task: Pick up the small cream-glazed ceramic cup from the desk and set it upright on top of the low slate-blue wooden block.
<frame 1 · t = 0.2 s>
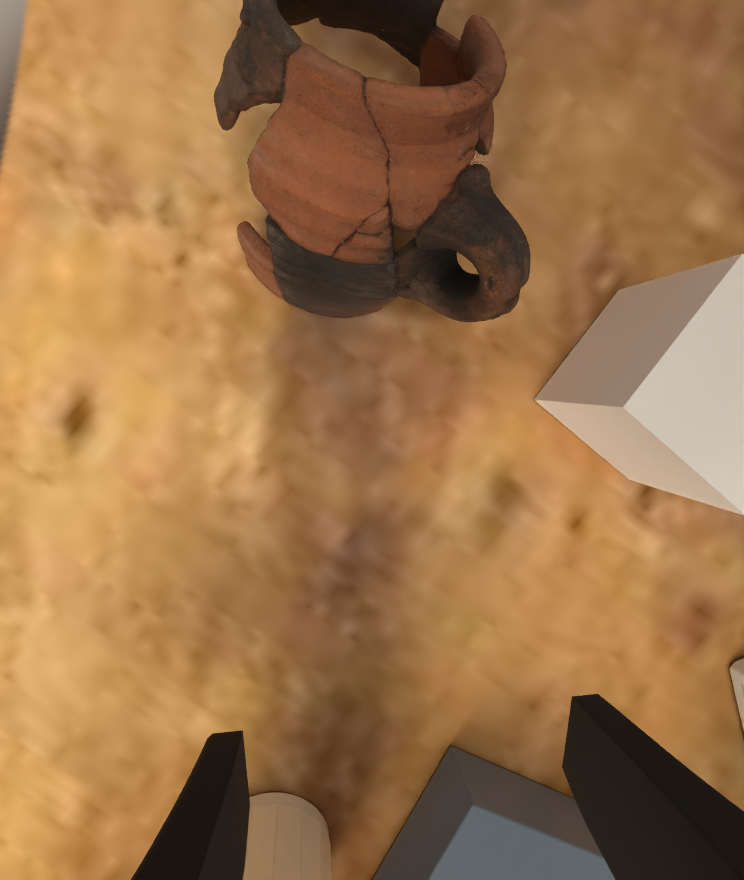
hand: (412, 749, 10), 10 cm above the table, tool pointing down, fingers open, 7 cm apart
brown hollow looped part: (367, 213, 19), on the table
riser block: (478, 843, 23), on the table
cup: (269, 846, 22), on the table
white cube: (620, 387, 21), on the table
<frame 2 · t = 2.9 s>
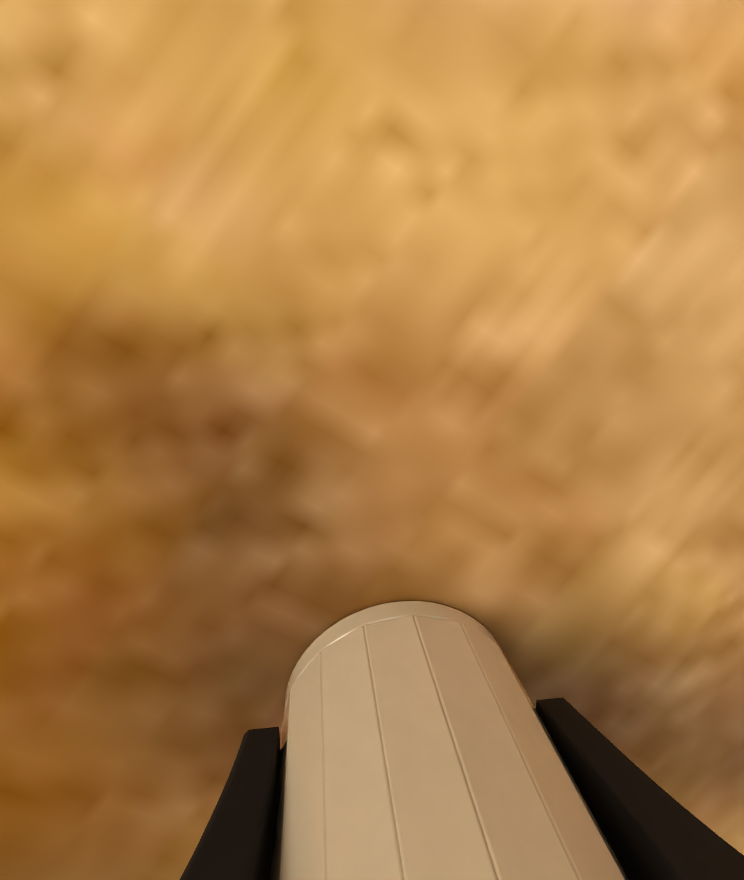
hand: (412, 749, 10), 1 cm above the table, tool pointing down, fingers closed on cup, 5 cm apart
cup: (399, 697, 12), on the table, touching gripper
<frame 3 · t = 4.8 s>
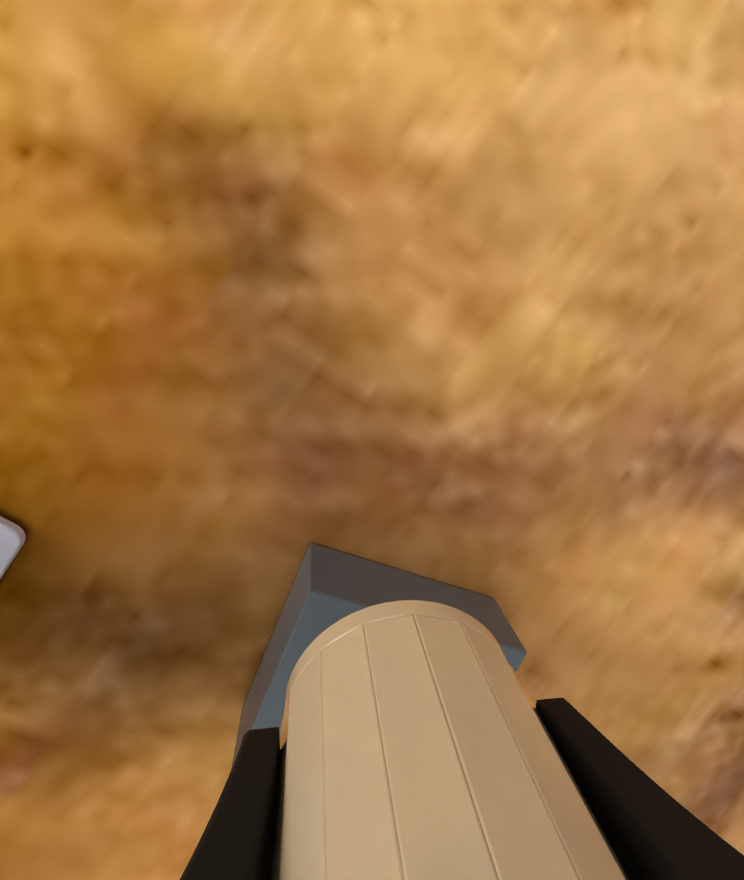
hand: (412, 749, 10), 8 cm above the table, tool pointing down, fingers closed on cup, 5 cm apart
riser block: (368, 653, 20), on the table
cup: (399, 696, 12), point 7 cm above the table, touching gripper
when the fingers open (5 cm above the table, at t = 6.9 s): cup stays where it is, resting on riser block.
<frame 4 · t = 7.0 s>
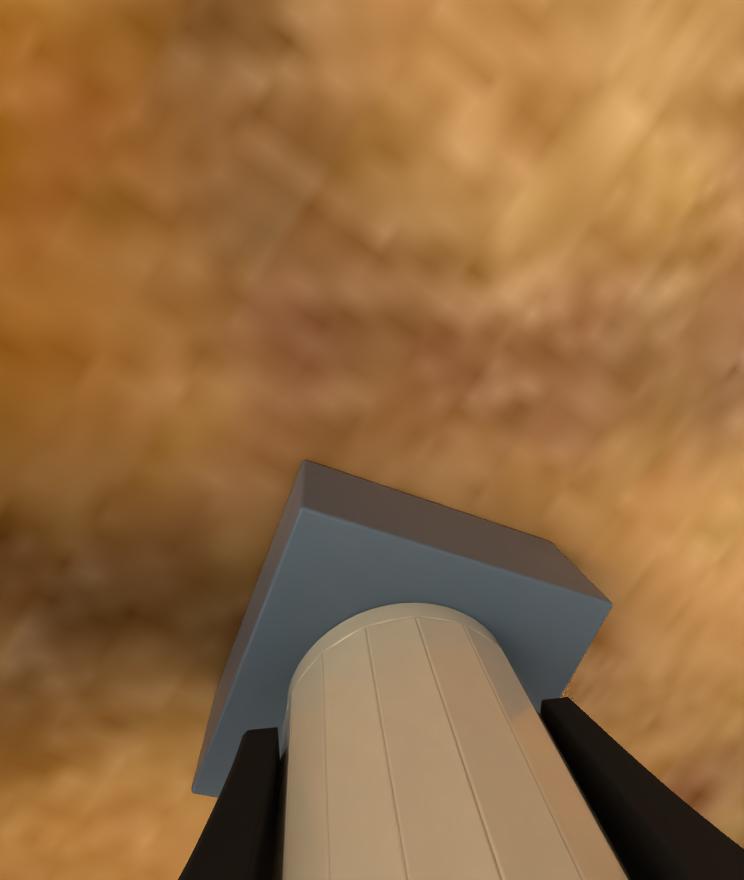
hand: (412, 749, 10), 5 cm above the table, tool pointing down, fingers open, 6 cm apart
riser block: (383, 616, 15), on the table, touching cup
cup: (401, 699, 12), point 3 cm above the table, touching riser block
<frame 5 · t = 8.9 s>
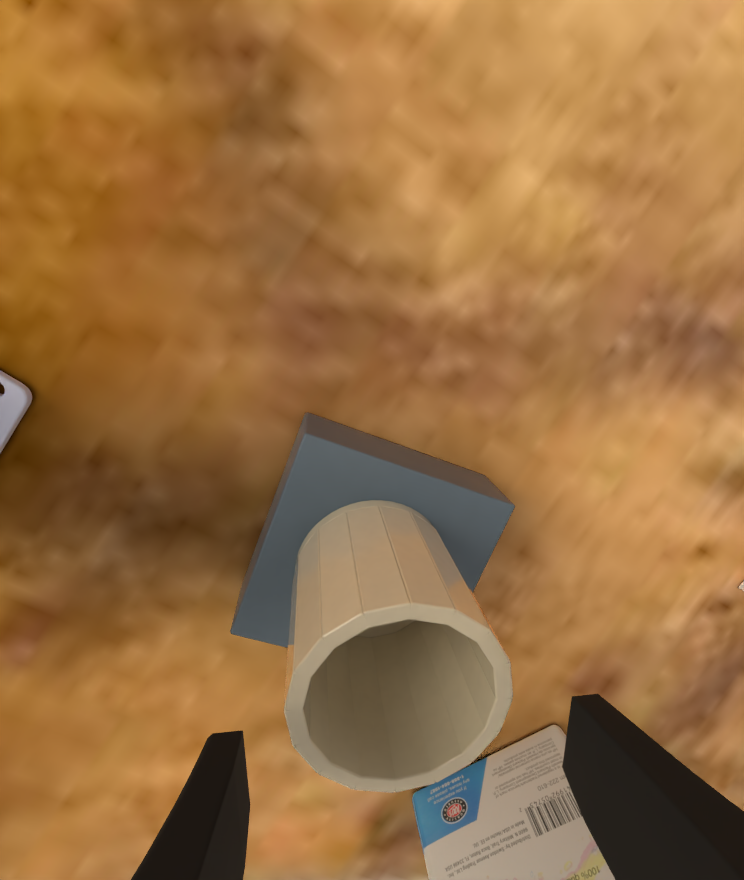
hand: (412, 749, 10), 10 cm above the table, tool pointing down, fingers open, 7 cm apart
ink box: (498, 782, 25), on the table
riser block: (363, 529, 20), on the table, touching cup
cup: (372, 570, 17), point 3 cm above the table, touching riser block
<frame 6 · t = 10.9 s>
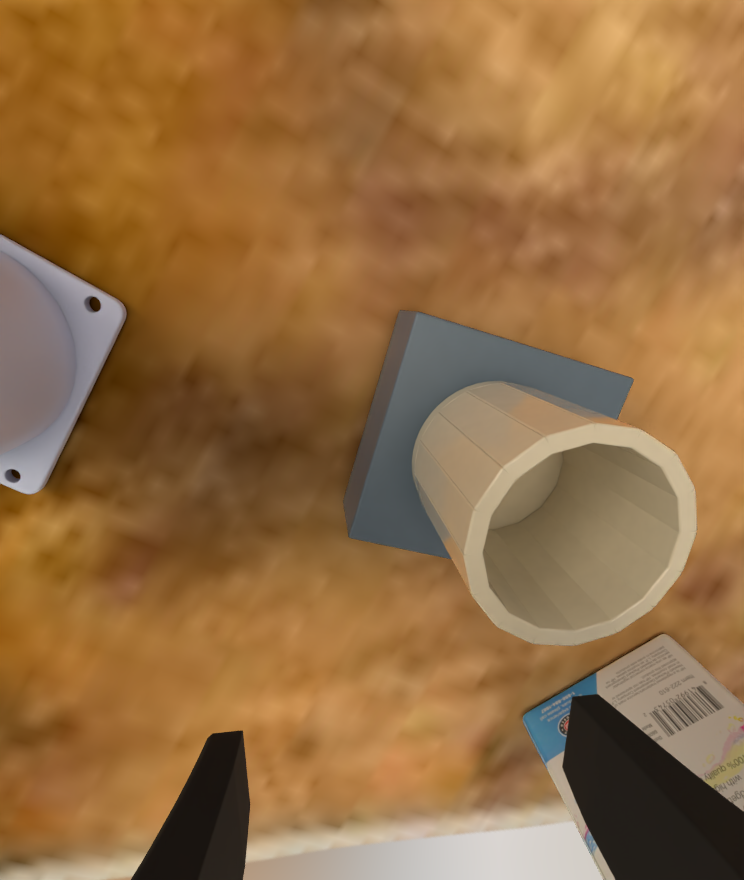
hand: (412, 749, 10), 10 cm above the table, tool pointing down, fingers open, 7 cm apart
ink box: (607, 700, 25), on the table
riser block: (462, 435, 20), on the table, touching cup
cup: (489, 459, 16), point 3 cm above the table, touching riser block
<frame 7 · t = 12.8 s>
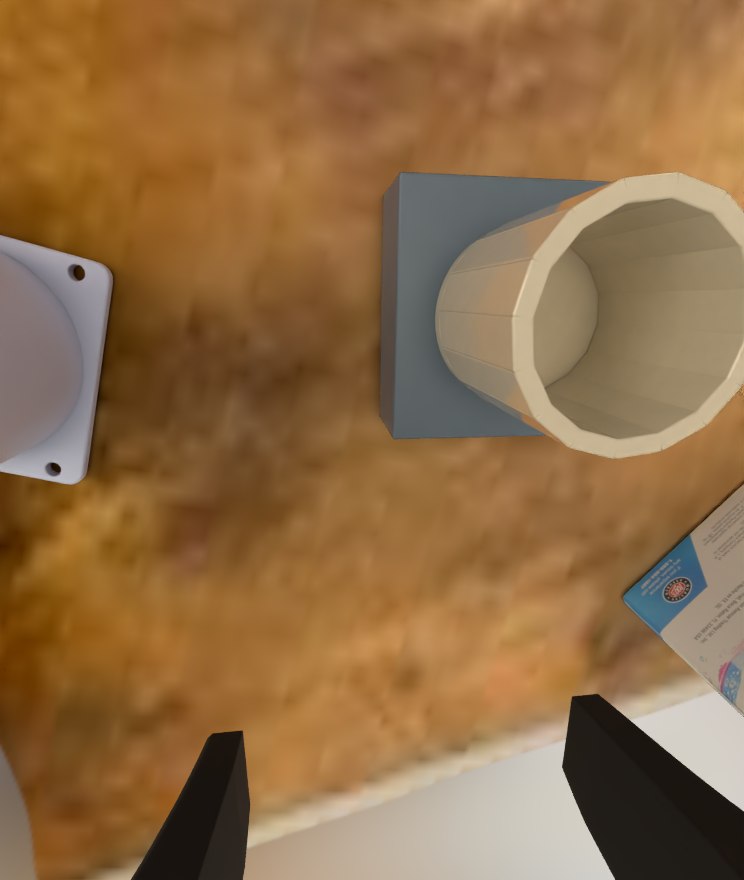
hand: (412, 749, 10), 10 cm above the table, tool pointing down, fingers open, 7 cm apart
ink box: (709, 561, 23), on the table
riser block: (484, 314, 18), on the table, touching cup
cup: (518, 317, 15), point 3 cm above the table, touching riser block
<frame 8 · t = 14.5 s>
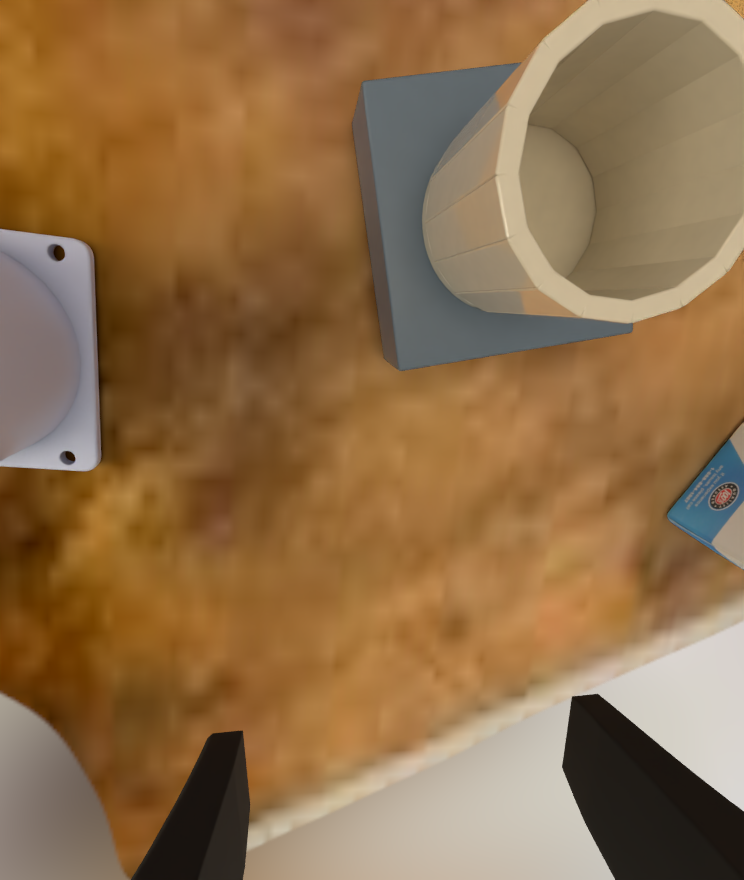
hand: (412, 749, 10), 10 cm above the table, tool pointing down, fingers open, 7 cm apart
riser block: (476, 233, 17), on the table, touching cup
cup: (510, 219, 14), point 3 cm above the table, touching riser block
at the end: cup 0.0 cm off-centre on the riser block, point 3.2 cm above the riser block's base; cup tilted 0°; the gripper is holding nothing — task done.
